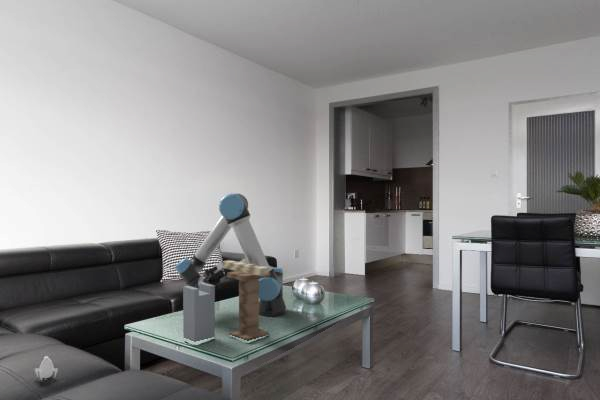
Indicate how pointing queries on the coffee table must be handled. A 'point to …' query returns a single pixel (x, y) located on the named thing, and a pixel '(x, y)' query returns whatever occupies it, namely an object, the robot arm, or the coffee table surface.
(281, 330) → the coffee table surface
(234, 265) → the birch bar
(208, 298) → the slotted block
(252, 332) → the walnut stand
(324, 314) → the coffee table surface
